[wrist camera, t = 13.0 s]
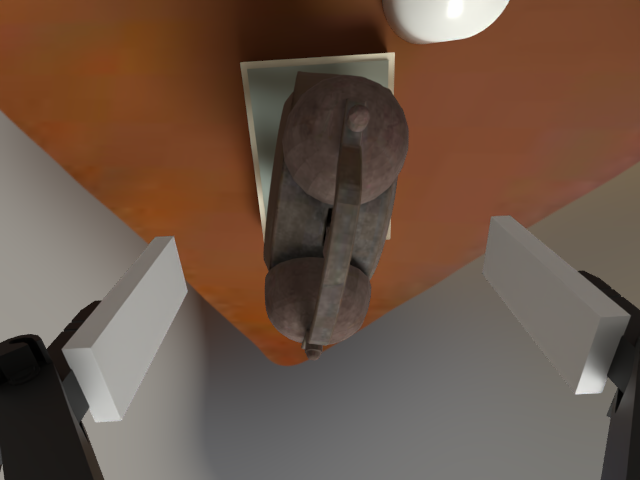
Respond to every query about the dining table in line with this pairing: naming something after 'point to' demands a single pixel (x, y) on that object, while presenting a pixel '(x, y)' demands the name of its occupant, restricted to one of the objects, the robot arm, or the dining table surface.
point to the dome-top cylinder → (440, 18)
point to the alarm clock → (330, 205)
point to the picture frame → (274, 89)
